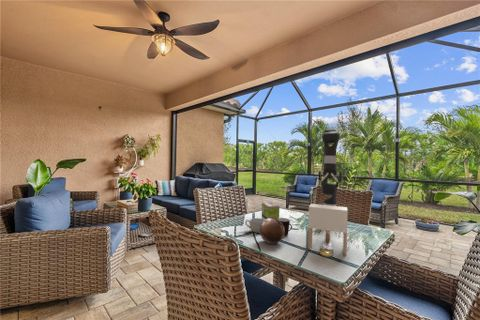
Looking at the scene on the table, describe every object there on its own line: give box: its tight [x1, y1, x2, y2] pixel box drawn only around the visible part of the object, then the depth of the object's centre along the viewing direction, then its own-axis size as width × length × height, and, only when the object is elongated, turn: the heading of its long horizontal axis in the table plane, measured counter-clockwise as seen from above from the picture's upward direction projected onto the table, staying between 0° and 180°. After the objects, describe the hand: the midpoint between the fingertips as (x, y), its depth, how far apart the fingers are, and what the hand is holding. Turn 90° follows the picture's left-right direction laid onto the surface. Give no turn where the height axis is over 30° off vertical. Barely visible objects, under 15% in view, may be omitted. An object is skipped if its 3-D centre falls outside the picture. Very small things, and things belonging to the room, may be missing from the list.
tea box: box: [261, 201, 280, 220], centre depth 184 cm, size 15×10×15 cm
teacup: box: [244, 217, 264, 234], centre depth 160 cm, size 14×11×8 cm
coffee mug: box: [278, 217, 293, 237], centre depth 153 cm, size 12×9×10 cm
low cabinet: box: [307, 203, 348, 256], centre depth 131 cm, size 10×20×24 cm, turn 67°
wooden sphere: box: [259, 218, 285, 245], centre depth 138 cm, size 15×15×15 cm
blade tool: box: [319, 230, 334, 254], centre depth 136 cm, size 22×7×6 cm, turn 157°
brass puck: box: [319, 250, 333, 258], centre depth 123 cm, size 6×6×2 cm
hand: (329, 187), depth 150 cm, fingers open, 8 cm apart
